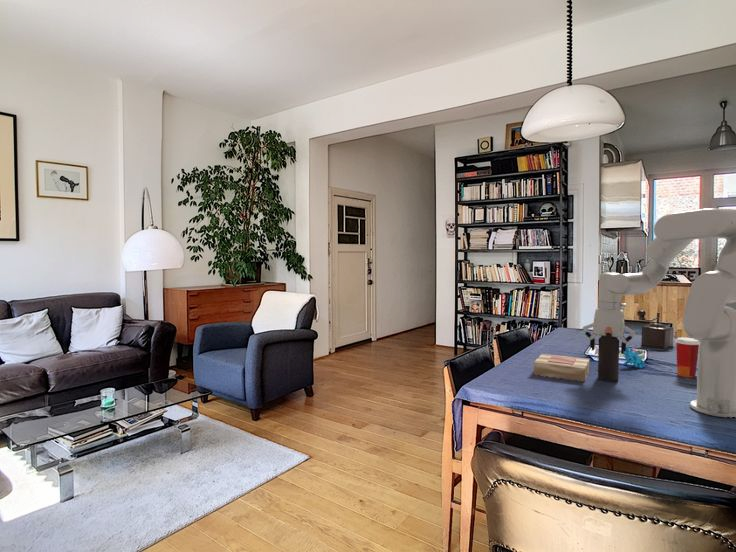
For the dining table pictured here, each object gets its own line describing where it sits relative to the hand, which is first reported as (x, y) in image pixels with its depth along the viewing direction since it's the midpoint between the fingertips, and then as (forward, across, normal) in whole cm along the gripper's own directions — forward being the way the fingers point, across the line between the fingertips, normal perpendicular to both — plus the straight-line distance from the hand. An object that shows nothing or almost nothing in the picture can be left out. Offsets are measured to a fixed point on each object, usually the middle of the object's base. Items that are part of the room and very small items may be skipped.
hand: (607, 351), depth 167 cm
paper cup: (+10, -26, -20) cm, 34 cm away
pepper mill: (+11, -16, -73) cm, 75 cm away
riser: (+11, +15, 0) cm, 19 cm away
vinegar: (+11, -1, 0) cm, 11 cm away
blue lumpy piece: (+11, -8, -25) cm, 28 cm away
